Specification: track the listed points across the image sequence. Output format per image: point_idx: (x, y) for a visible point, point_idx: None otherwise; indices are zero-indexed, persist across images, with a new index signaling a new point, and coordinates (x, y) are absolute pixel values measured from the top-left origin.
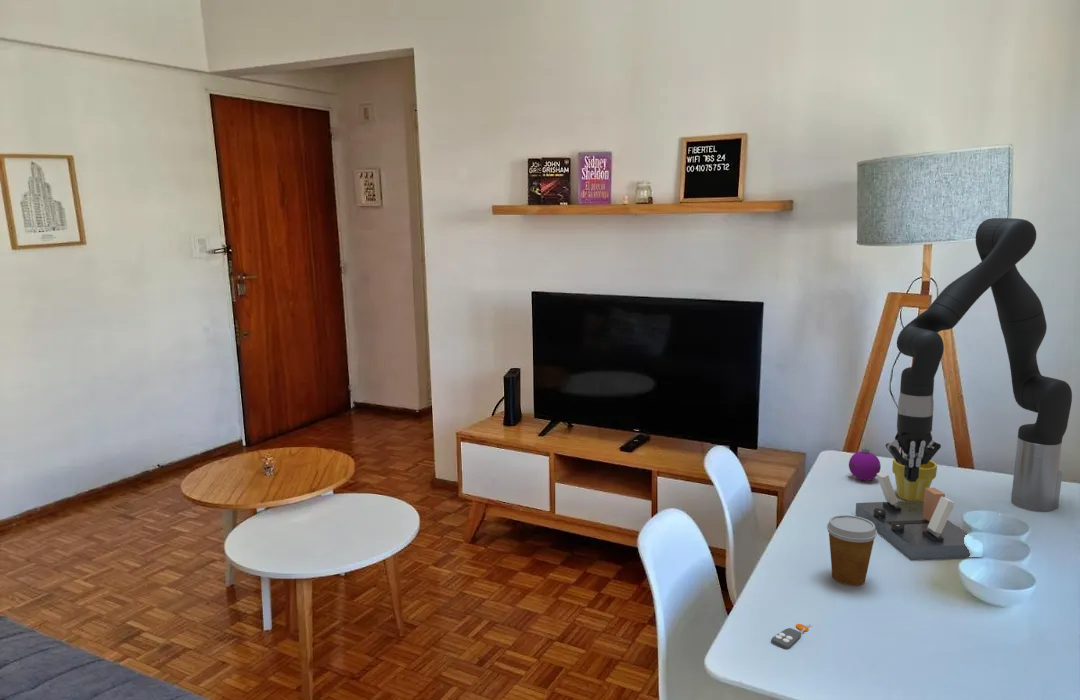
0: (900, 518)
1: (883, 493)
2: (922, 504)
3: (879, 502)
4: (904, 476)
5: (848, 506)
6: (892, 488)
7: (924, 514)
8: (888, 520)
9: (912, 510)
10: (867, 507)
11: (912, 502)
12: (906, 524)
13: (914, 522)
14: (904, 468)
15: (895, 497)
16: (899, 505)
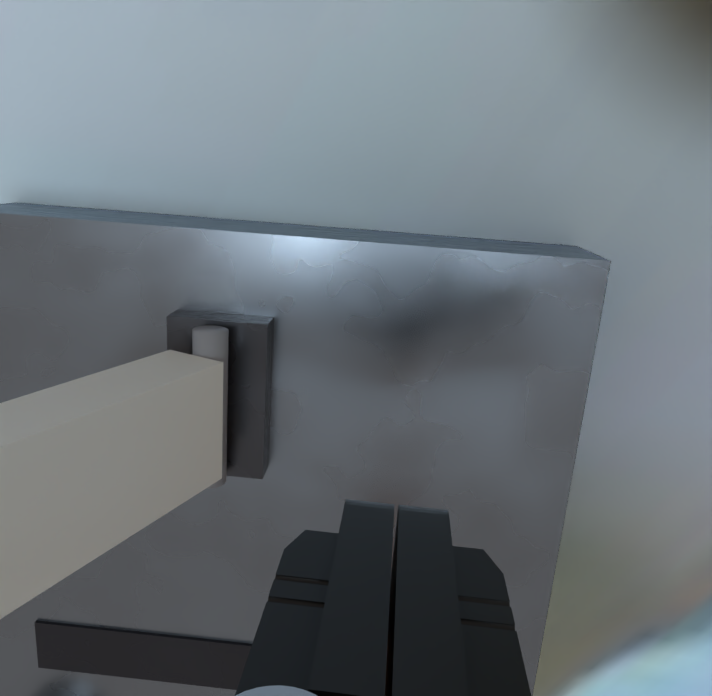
0: (177, 590)
1: (102, 371)
2: (574, 361)
3: (178, 239)
4: (289, 553)
5: (28, 6)
6: (81, 563)
7: None
8: (63, 602)
9: (378, 471)
10: (6, 335)
11: (510, 298)
12: (161, 686)
13: (237, 678)
14: (250, 652)
15: (174, 505)
16: (333, 343)
